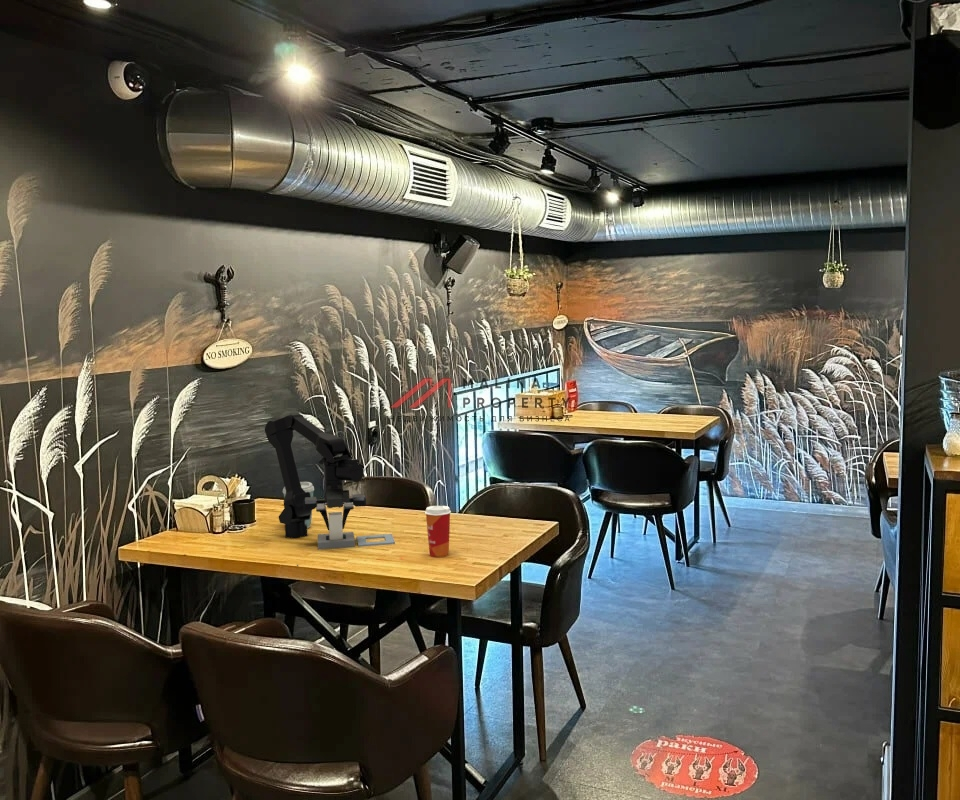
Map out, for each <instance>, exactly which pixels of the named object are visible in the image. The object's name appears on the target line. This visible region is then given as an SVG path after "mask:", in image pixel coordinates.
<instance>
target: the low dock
mask: <svg viewBox="0 0 960 800" xmlns="http://www.w3.org/2000/svg"><path fill="white" fill-rule="evenodd" d="M376 539H384V540H381V541H367V540H376ZM356 541H357V542H356V543H357V547H358V548H359V547H360V548H361V547H373V546H388V545H396V541H395V538H394V536H393V533H388V534H387V533H384V534H371V535H370V534H369V535H358V536H356Z"/></svg>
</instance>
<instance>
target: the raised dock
mask: <svg viewBox="0 0 960 800" xmlns="http://www.w3.org/2000/svg"><path fill="white" fill-rule="evenodd" d="M343 548H348V549H349V548H356V538H355V534H354V531H347V532H344V531H343V539H337V540H330V539H329V533H319V534H317V550H319V551H321V550H330V549H331V550H332V549H343Z"/></svg>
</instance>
